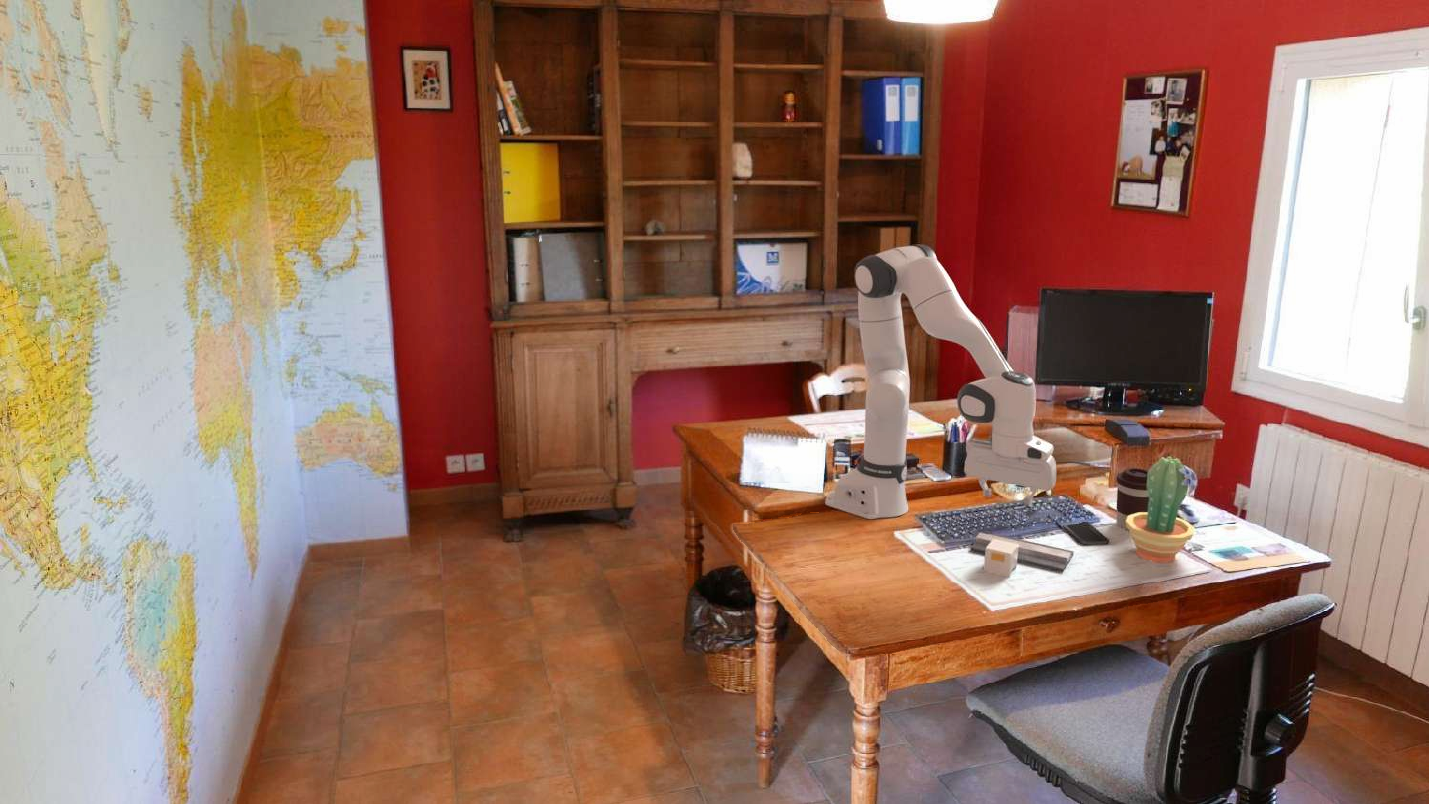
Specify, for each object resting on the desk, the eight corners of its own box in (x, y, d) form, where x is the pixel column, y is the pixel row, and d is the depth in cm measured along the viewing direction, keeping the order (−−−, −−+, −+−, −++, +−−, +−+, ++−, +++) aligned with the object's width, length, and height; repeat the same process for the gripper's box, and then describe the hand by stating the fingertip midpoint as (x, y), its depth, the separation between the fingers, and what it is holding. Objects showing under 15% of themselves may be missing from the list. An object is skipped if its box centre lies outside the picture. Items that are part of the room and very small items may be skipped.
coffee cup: (1158, 534, 249) (1166, 479, 244) (1119, 533, 249) (1126, 478, 244) (1142, 518, 258) (1150, 465, 254) (1105, 518, 258) (1112, 465, 254)
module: (983, 571, 228) (985, 548, 226) (991, 561, 233) (993, 538, 232) (1009, 578, 225) (1011, 554, 223) (1016, 567, 230) (1018, 544, 229)
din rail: (970, 551, 239) (971, 542, 238) (983, 535, 248) (984, 527, 247) (1062, 572, 228) (1063, 564, 227) (1073, 555, 237) (1074, 546, 236)
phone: (1081, 542, 242) (1055, 518, 256) (1081, 546, 242) (1054, 522, 256) (1111, 541, 242) (1083, 517, 257) (1111, 545, 243) (1083, 521, 257)
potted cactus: (1150, 572, 228) (1164, 472, 221) (1108, 544, 242) (1120, 450, 235) (1205, 564, 232) (1221, 466, 225) (1160, 538, 246) (1174, 444, 239)
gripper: (962, 439, 223) (958, 496, 227) (1054, 455, 212) (1048, 513, 216) (971, 432, 228) (967, 487, 232) (1060, 446, 218) (1055, 504, 222)
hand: (1007, 500), depth 224 cm, fingers open, 8 cm apart
